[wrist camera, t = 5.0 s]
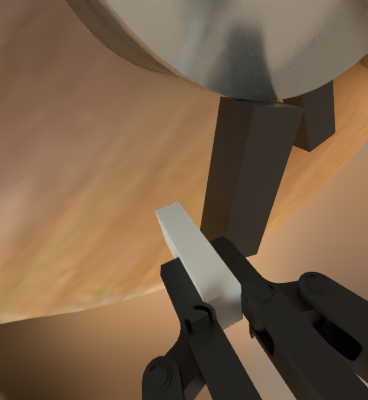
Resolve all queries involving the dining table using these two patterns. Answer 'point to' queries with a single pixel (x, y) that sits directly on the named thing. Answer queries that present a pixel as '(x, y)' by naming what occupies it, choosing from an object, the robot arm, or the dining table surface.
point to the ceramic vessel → (365, 60)
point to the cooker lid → (248, 86)
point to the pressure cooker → (129, 50)
